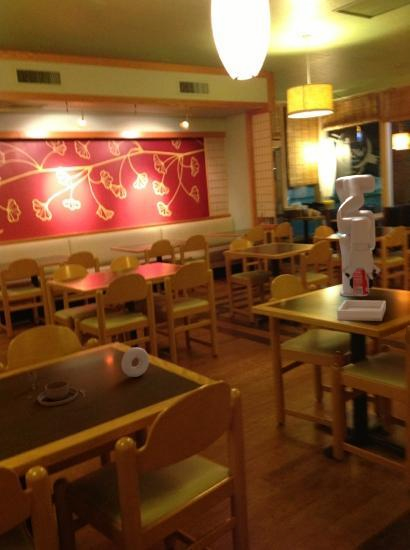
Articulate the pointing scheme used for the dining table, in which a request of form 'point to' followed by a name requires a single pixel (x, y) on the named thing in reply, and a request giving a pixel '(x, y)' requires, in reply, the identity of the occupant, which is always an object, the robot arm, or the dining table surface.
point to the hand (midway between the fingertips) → (361, 287)
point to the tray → (361, 310)
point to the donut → (141, 365)
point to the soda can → (361, 282)
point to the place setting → (55, 391)
